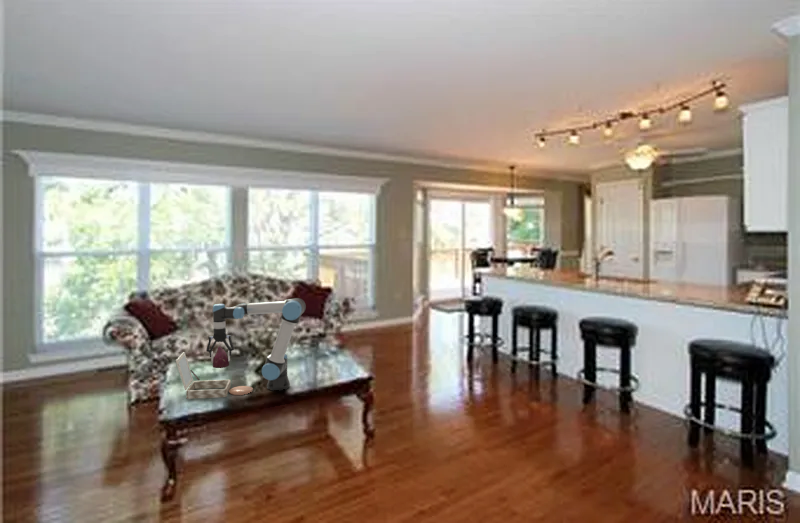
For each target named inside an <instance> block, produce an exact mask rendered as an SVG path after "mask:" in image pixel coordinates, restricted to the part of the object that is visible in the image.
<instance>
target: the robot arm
mask: <svg viewBox="0 0 800 523" xmlns="http://www.w3.org/2000/svg"><path fill="white" fill-rule="evenodd" d="M306 307H307V306H306V303H305V300H303V299H302V298H299V297H294V298H288V299H285V300H284V301H283V300H282V301H281V300H280V301H279V300H278V301H266V302H265V301H264V302H251V303H245V302H244V303H243V302H242V303H239V304H236V305H235V306H232V307H227V306H226V305H225V304H224V303H216V304H213V306H212V320H213V321H212V325H213V326H212V327H213V335H212V336H211V335H209V336H208V341H207V342H208V343H207V348H206V352H208V353H209V358H211V359H210V360H211V363H213V359H214V351H213V350H214V348H215V346H216V345H217V343H224V345H225V347H226V348H227V350H228V351H227V356H228V361H229V362H230V361H231V356H232V351H234V350H235V346H234V342H233V340H232V335H231V334H230V335H227V328H226V320H229V319H230V320H233V319H234V320H239V319H243V318H244V316H247V315H265V314H281V317H280V319H281V324H280V326H279V330H278V333H277V335H276V339H275V342H274V345H273V347H272V349H271V350H272V351H271V353H270V354H268V355H267V357H266V360H265V363H264V364H263V366H262V368H261V375H262V377H263V378H264V379H265V380H267V384H266V388H267V389H268V390H269V389H271V390H270V391H274V390H279V391H284V390H283V389H285V390H288V389H289V388H290V387H291V382H290V379H289V377H288V360H289V359H288V355H287V354H286V352H287V351H288V350H287V349H288V346H289V344H290V341H291V338H292V335H293V333H294V329H295V327H296V325H297V324H299V322H300V320H301V316H302V314H304V313H305V311H306ZM226 338H227V339H228V342H229V343H228V342H227V340H226ZM212 340H214V342H213V344H212V346H211V343H212ZM229 344H230V345H229ZM288 387H289V388H288ZM287 388H288V389H287Z"/></svg>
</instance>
